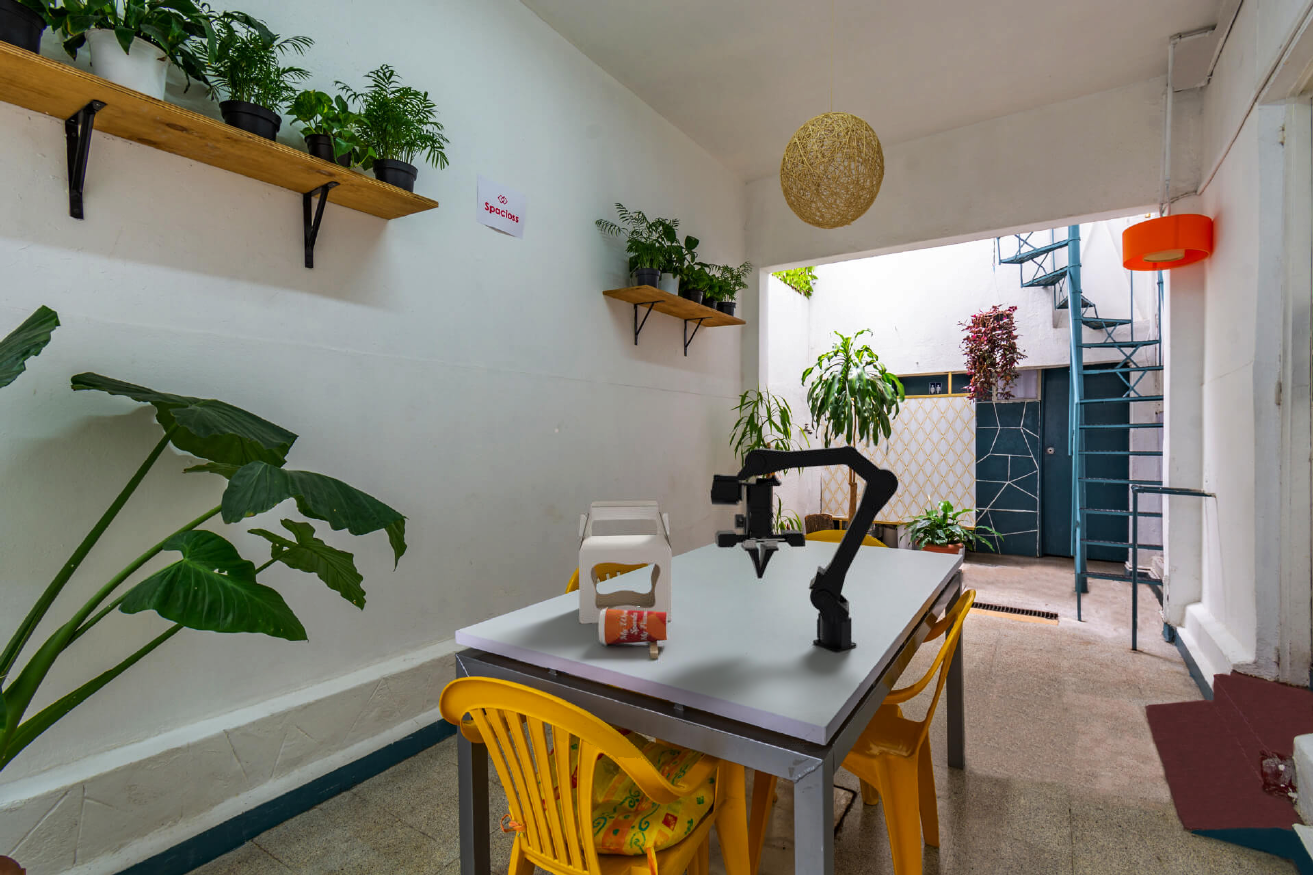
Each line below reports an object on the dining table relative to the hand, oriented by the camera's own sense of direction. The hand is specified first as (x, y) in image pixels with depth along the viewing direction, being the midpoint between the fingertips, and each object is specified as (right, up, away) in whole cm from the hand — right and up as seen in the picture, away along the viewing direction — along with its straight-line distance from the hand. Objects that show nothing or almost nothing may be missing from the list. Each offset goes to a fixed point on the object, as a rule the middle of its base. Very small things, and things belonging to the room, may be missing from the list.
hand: (759, 578), depth 130 cm
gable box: (-30, -13, +17) cm, 37 cm away
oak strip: (-23, -13, -6) cm, 27 cm away
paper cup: (-20, -9, -5) cm, 22 cm away
